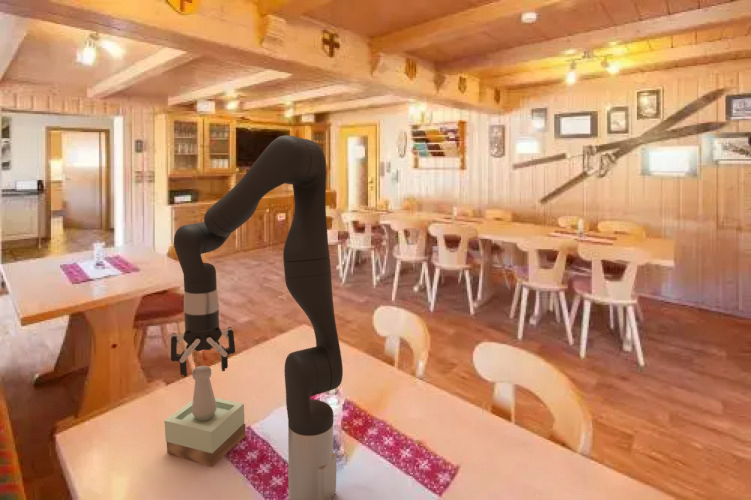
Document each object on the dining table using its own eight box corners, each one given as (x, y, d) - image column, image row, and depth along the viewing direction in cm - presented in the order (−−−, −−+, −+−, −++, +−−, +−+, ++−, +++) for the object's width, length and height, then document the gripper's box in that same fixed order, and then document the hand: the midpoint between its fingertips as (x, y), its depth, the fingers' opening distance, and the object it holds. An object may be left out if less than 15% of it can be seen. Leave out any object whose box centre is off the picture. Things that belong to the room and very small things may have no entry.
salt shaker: (209, 425, 110) (205, 375, 107) (187, 422, 111) (183, 372, 108) (221, 412, 116) (218, 364, 113) (200, 409, 117) (197, 361, 114)
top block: (244, 423, 119) (243, 403, 117) (212, 453, 106) (211, 431, 105) (201, 413, 122) (200, 394, 121) (165, 441, 110) (164, 420, 109)
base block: (245, 438, 119) (245, 424, 118) (210, 469, 107) (210, 453, 106) (205, 426, 124) (204, 412, 123) (167, 454, 112) (166, 439, 111)
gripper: (231, 300, 114) (233, 362, 117) (168, 306, 109) (172, 370, 112) (235, 310, 107) (237, 375, 111) (167, 316, 102) (172, 384, 105)
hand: (204, 372), depth 111 cm, fingers open, 8 cm apart
